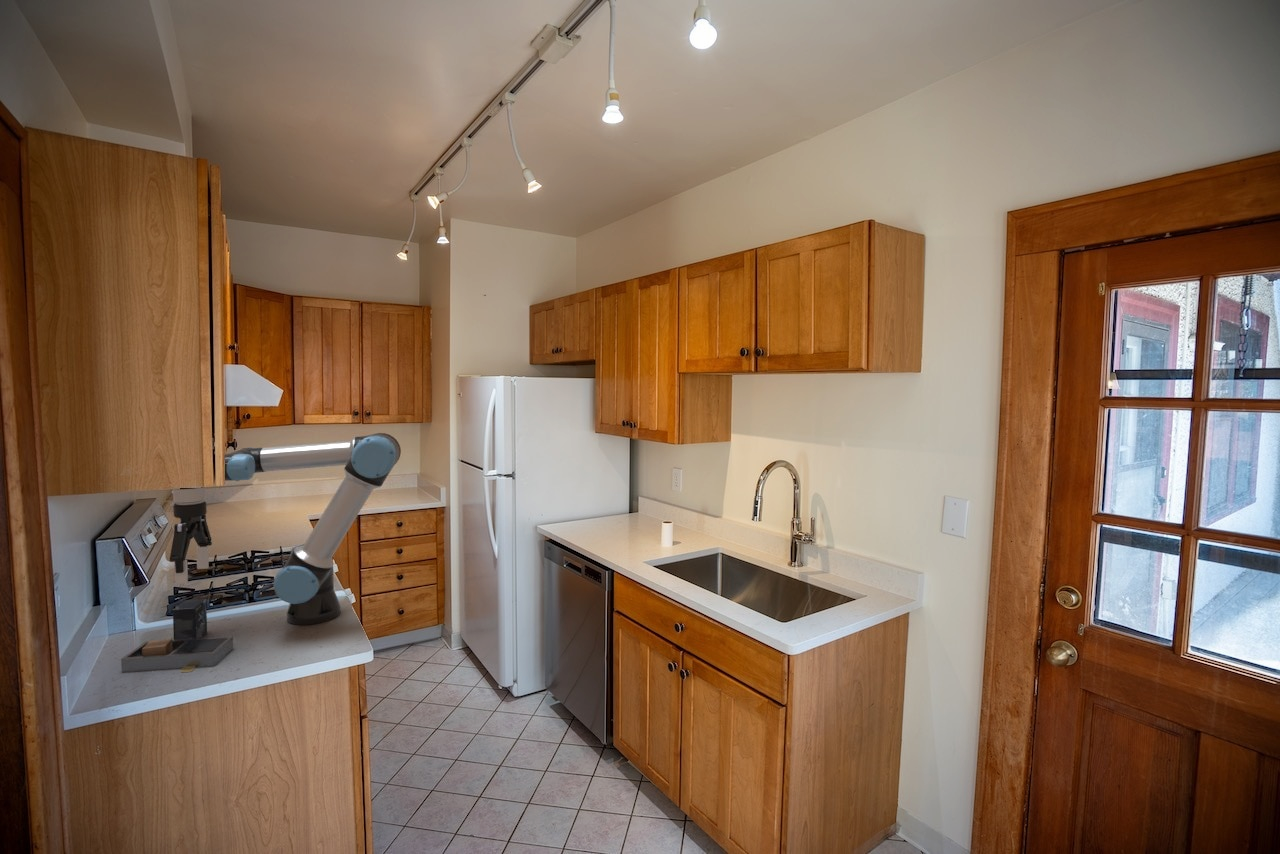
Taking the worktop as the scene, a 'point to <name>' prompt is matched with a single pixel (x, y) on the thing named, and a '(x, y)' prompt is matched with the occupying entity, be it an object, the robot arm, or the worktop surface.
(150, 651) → the nut block
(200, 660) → the tray
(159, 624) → the worktop surface
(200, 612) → the box
